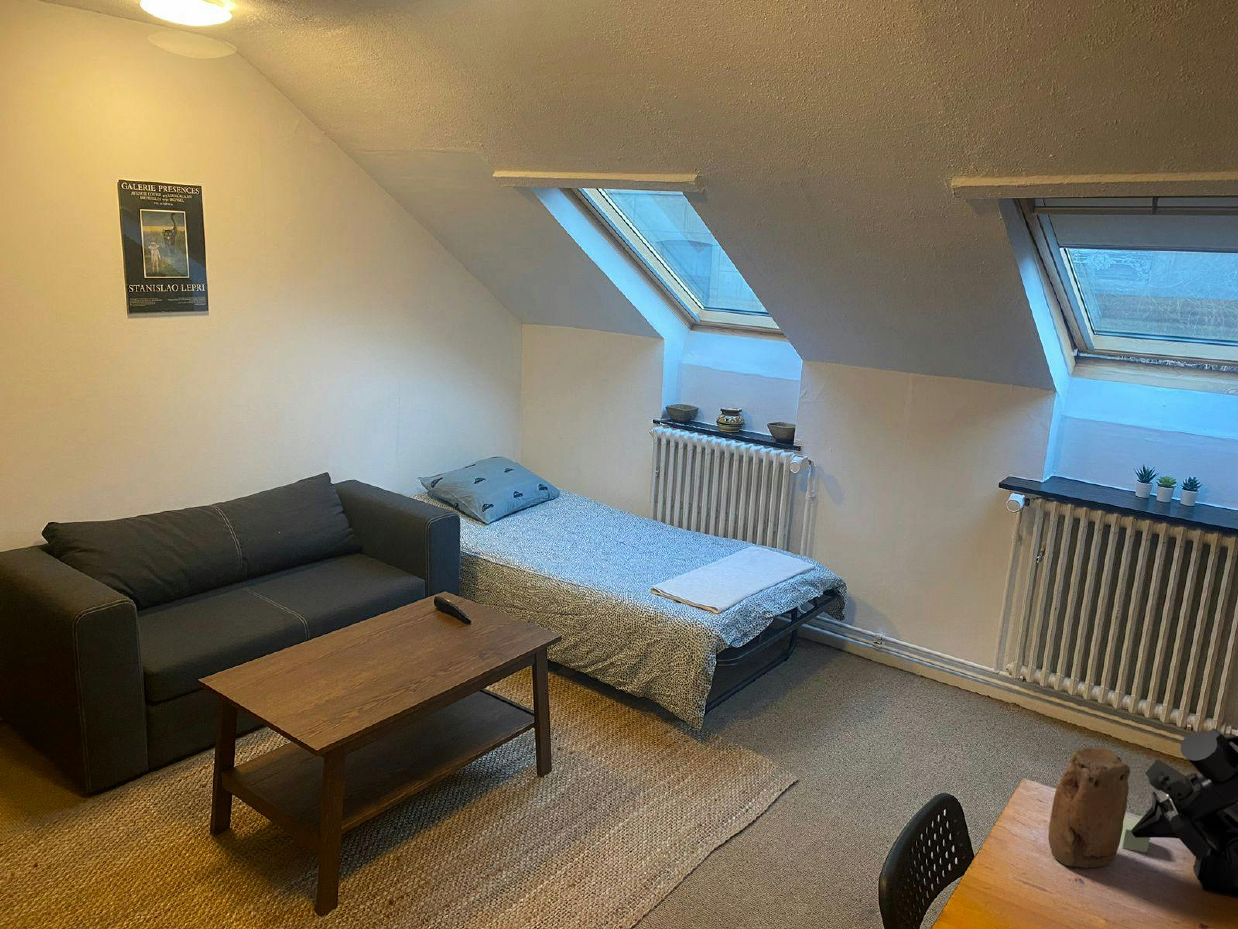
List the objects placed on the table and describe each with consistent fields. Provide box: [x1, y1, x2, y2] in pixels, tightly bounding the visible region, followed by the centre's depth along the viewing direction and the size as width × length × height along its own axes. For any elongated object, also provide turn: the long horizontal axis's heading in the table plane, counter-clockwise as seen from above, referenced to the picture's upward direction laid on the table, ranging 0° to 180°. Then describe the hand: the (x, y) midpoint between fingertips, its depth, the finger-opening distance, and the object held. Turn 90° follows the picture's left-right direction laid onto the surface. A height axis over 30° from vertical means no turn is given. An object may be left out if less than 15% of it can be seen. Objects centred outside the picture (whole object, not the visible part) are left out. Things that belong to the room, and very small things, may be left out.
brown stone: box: [1047, 747, 1131, 869], centre depth 161 cm, size 11×8×20 cm
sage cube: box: [1120, 816, 1151, 853], centre depth 167 cm, size 4×4×4 cm
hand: (1133, 834), depth 160 cm, fingers closed
